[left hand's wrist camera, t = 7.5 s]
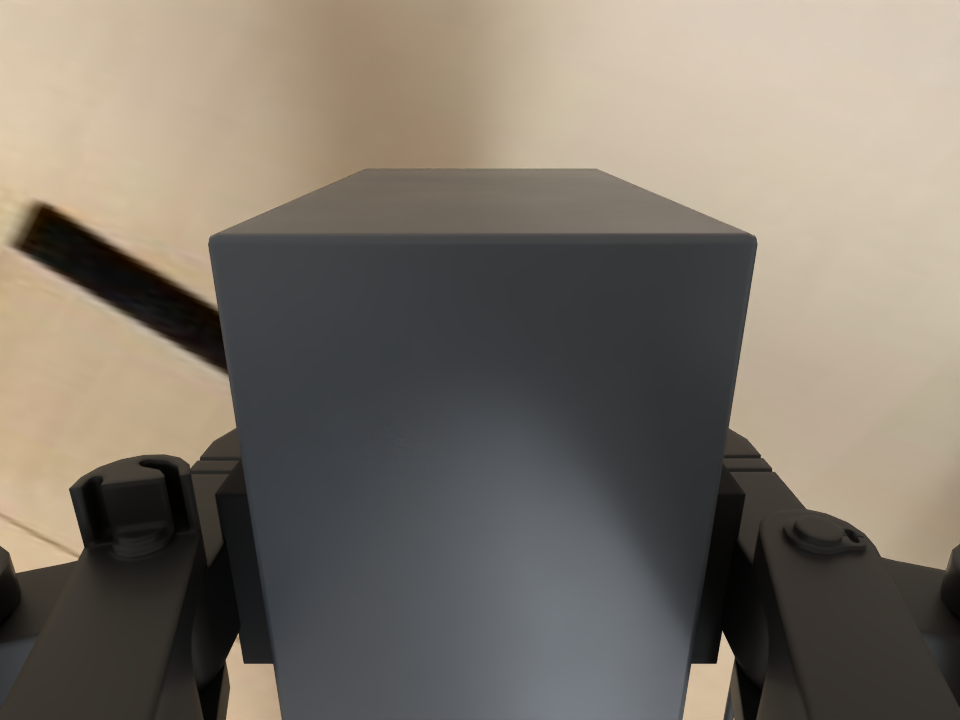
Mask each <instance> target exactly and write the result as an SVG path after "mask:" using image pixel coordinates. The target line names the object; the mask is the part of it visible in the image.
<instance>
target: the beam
mask: <svg viewBox="0 0 960 720" xmlns="http://www.w3.org/2000/svg"><path fill="white" fill-rule="evenodd" d="M208 246H209V252H210V259H211V265H212V272H213V278H214V285H215V291H216V297H217V304H218V310H219V317H220V323H221V330H222V336H223V343H224V349H225V355H226V362H227V368H228V375H229V381H230V388H231V394H232V401H233V407H234V413H235V420H236V426H237V433H238V439H239V446H240V452H241V459H242V465H243V471H244V478H245V484H246V491H247V497H248V504H249V510H250V517H251V523H252V529H253V536H254V542H255V549H256V555H257V562H258V568H259V575H260V581H261V587H262V594H263V600H264V607H265V613H266V620H267V626H268V633H269V639H270V645H271V652H272V658H273V665H274V671H275V678H276V684H277V691H278V697H279V704H280V710H281V716H282V720H682V719H683V712H684V706H685V700H686V693H687V687H688V681H689V674H690V668H691V662H692V655H693V649H694V643H695V636H696V630H697V624H698V617H699V611H700V605H701V598H702V592H703V586H704V579H705V573H706V567H707V560H708V554H709V548H710V541H711V535H712V529H713V522H714V516H715V510H716V503H717V497H718V491H719V484H720V478H721V472H722V465H723V459H724V453H725V446H726V440H727V434H728V427H729V421H730V415H731V408H732V402H733V396H734V389H735V383H736V377H737V370H738V364H739V358H740V351H741V345H742V339H743V332H744V326H745V320H746V313H747V307H748V301H749V294H750V288H751V282H752V275H753V269H754V263H755V256H756V250H757V239H756V236H754V235H752V234H749V233H747V232H745V231H742V230H740V229H738V228H735V227H733V226H731V225H728V224H726V223H723V222H721V221H719V220H716V219H714V218H712V217H709V216H707V215H704V214H702V213H700V212H697V211H695V210H693V209H690V208H688V207H686V206H683V205H681V204H678V203H676V202H674V201H671V200H669V199H667V198H664V197H662V196H659V195H657V194H655V193H652V192H650V191H648V190H645V189H643V188H641V187H638V186H636V185H633V184H631V183H629V182H626V181H624V180H622V179H619V178H617V177H615V176H612V175H610V174H607V173H605V172H603V171H600V170H598V169H364V170H362V171H360V172H357V173H355V174H353V175H351V176H348V177H346V178H344V179H341V180H339V181H337V182H334V183H332V184H330V185H327V186H325V187H323V188H321V189H318V190H316V191H314V192H311V193H309V194H307V195H304V196H302V197H300V198H297V199H295V200H293V201H290V202H288V203H286V204H284V205H281V206H279V207H277V208H274V209H272V210H270V211H267V212H265V213H263V214H260V215H258V216H256V217H254V218H251V219H249V220H247V221H244V222H242V223H240V224H237V225H235V226H233V227H230V228H228V229H226V230H223V231H221V232H219V233H217V234H214V235H212V236H210V238H209V243H208Z"/></svg>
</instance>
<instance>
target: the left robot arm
mask: <svg viewBox="0 0 960 720" xmlns="http://www.w3.org/2000/svg"><path fill="white" fill-rule="evenodd" d="M69 491H70V495H71V498H72V502H73V506H74V510H75V513H76V517H77V521H78V525H79V528H80V532H81V536H82V540H83V543H84V547H85V548H84V550H83V552H82V553H81V555H80V557H79V559H78V561H74V562H70V563H66V564H61V565H56V566H51V567H46V568H40V569H35V570H30V571H25V572H20V573H15V570H14V567H13V564H12V560H11V557H10V554H9V552H8V551H6V550H5V549H4V548H2V547H1V546H0V720H226V714H227V707H228V699H229V692H230V684H229V676H228V670H227V665H226V658H227V656H228V654H229V652H230V650H231V647H232V645H233V643H234V641H235V639H236V637H237V635H238V633H239V638H240V644H241V649H242V655H243V661H244V664H273V658H272V652H271V645H270V639H269V633H268V626H267V620H266V613H265V607H264V600H263V594H262V587H261V581H260V575H259V568H258V562H257V555H256V549H255V542H254V536H253V529H252V523H251V517H250V510H249V504H248V497H247V491H246V484H245V478H244V471H243V465H242V459H241V452H240V446H239V439H238V433H237V428H235V429H234V430H232V431H230V432H229V433H227V434H225V435H224V436H222V437H220V438H219V439H217V440H215V441H214V442H213V443H212V444H211V445H210V446H209V448H208V449H207V450H206V451H205V452H204V453H203V455H202V456H201V457H200V461H197V462H196V463H195V464H194V465H193V467H192V468H191V469H190V465H189V464H188V463H187V462H185V461H184V460H182V459H181V458H179V457H174V456H169V455H142V456H136V457H131V458H126V459H121V460H118V461H115V462H112V463H110V464H107V465H104V466H101V467H99V468H97V469H95V470H93V471H91V472H90V473H88V474H86V475H84V476H82V477H81V478H80V479H79V480H78V481H77V482H76V483H75V484H74V485H73V486H72V487H71V488H70V489H69ZM722 631H723V633H724V635H725V637H726V639H727V641H728V643H729V645H730V647H731V649H732V652H733V654H734V656H735V660H734V665H733V670H732V676H731V681H730V687H729V692H728V697H727V703H726V708H725V714H724V720H733V719H734V720H960V544H959V545H958V546H957V547H955V548H954V549H953V550H952V553H951V556H950V559H949V562H948V565H947V569H946V571H945V570H940V569H935V568H930V567H925V566H919V565H914V564H909V563H904V562H899V561H894V560H890V559H886V558H882V557H881V556H880V554H879V552H878V550H877V548H876V547H875V545H874V544H873V543H872V542H871V541H870V540H869V538H868V537H867V536H866V535H865V534H864V533H863V532H861V531H860V530H858V529H857V528H855V527H854V526H852V525H851V524H849V523H848V522H845V521H843V520H840V519H838V518H836V517H833V516H831V515H828V514H825V513H821V512H817V511H812V510H808V509H806V508H805V507H804V506H803V505H802V503H801V502H800V501H799V500H798V499H797V497H796V496H795V495H794V494H793V493H792V492H791V490H790V489H789V488H788V487H787V486H786V485H785V483H784V482H783V481H782V480H781V479H780V477H779V476H778V475H777V474H776V473H775V472H772V468H771V467H770V466H769V464H768V463H767V462H766V461H765V460H764V459H763V458H761V455H760V454H759V453H758V451H757V450H756V449H755V448H754V447H753V446H752V444H751V443H750V442H749V441H748V440H747V439H746V438H744V437H742V436H741V435H739V434H737V433H736V432H734V431H732V430H731V429H729V428H728V434H727V440H726V446H725V453H724V459H723V465H722V472H721V478H720V484H719V491H718V497H717V503H716V510H715V516H714V522H713V529H712V535H711V541H710V548H709V554H708V560H707V567H706V573H705V579H704V586H703V592H702V598H701V605H700V611H699V617H698V624H697V630H696V636H695V643H694V649H693V655H692V662H691V664H717V658H718V652H719V646H720V641H721V635H722Z"/></svg>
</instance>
